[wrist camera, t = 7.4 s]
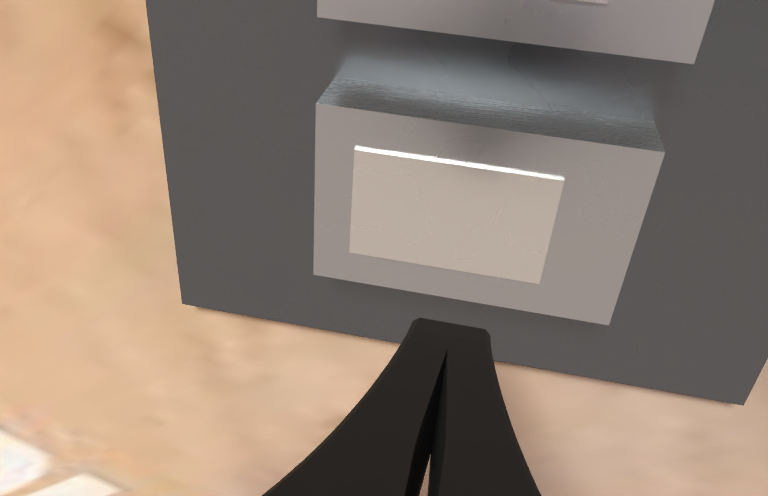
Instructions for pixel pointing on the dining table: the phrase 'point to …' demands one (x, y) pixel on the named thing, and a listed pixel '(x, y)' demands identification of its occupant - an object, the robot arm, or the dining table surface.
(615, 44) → the block
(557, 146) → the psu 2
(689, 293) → the dark grey panel board
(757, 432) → the dining table surface
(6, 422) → the dining table surface
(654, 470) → the dining table surface
